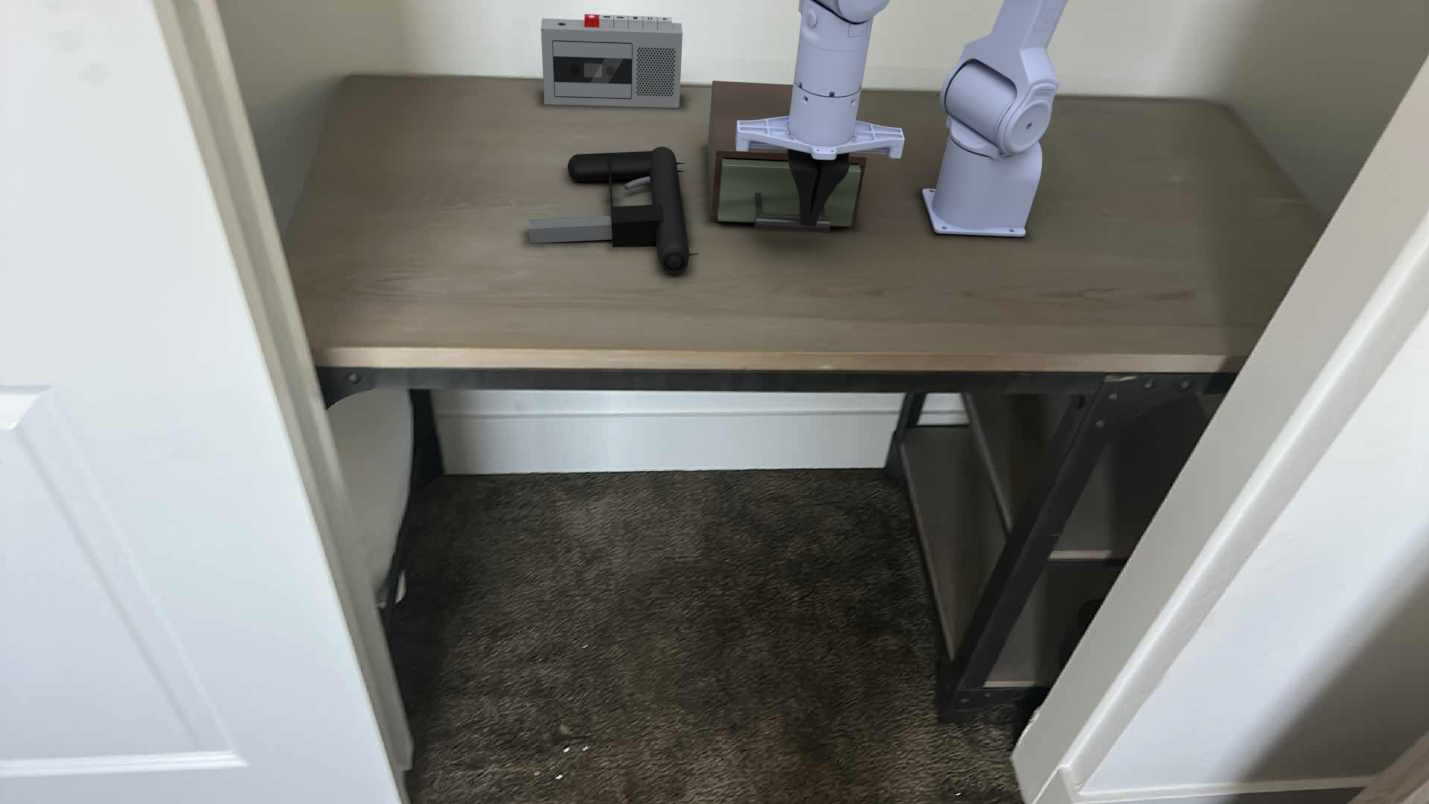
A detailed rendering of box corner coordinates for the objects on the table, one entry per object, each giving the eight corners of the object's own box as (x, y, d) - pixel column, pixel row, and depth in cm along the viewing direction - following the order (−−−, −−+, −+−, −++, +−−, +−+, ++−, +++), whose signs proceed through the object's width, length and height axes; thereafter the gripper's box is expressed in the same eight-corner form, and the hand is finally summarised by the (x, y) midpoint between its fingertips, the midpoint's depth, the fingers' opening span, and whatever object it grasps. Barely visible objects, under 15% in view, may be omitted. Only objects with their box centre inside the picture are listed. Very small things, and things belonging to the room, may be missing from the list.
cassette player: (544, 104, 120) (540, 19, 113) (545, 93, 122) (541, 9, 115) (679, 107, 122) (683, 24, 115) (677, 97, 123) (681, 14, 117)
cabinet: (853, 227, 105) (867, 156, 100) (710, 221, 104) (716, 149, 99) (837, 154, 116) (848, 87, 110) (707, 148, 115) (712, 80, 110)
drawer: (857, 257, 100) (868, 201, 96) (719, 252, 99) (724, 195, 95) (835, 158, 114) (844, 104, 109) (714, 152, 113) (718, 98, 108)
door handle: (525, 257, 94) (702, 249, 95) (531, 146, 108) (685, 140, 109) (529, 287, 96) (702, 278, 97) (535, 174, 110) (685, 168, 112)
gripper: (743, 100, 83) (731, 241, 93) (921, 108, 84) (891, 247, 93) (740, 61, 88) (728, 198, 98) (907, 69, 89) (880, 204, 99)
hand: (807, 219), depth 96 cm, fingers closed
